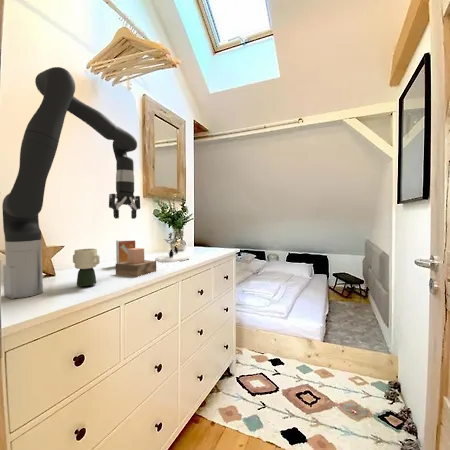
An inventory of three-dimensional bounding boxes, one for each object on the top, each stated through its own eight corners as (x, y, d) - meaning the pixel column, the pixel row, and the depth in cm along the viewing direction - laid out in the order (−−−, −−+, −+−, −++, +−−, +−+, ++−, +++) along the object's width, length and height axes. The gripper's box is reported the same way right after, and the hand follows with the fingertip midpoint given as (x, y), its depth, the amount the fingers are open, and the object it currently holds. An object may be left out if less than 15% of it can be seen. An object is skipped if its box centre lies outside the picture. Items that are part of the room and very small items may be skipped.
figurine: (170, 254, 164) (168, 229, 162) (195, 256, 156) (193, 229, 154) (148, 263, 146) (146, 234, 144) (175, 266, 138) (173, 235, 136)
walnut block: (137, 277, 107) (137, 265, 107) (115, 275, 112) (115, 263, 112) (156, 272, 118) (156, 261, 118) (135, 270, 123) (135, 259, 123)
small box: (119, 267, 127) (118, 241, 127) (116, 265, 132) (115, 240, 132) (136, 266, 131) (135, 240, 131) (132, 264, 137) (132, 239, 136)
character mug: (106, 284, 96) (105, 248, 95) (92, 289, 89) (91, 251, 88) (81, 282, 98) (80, 248, 98) (65, 287, 91) (64, 250, 91)
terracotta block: (134, 263, 112) (134, 249, 111) (127, 262, 114) (127, 249, 114) (144, 262, 116) (144, 248, 115) (137, 261, 118) (137, 247, 118)
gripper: (115, 178, 107) (115, 218, 107) (144, 182, 119) (144, 218, 119) (105, 180, 111) (105, 218, 111) (133, 184, 123) (133, 218, 123)
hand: (125, 218), depth 115 cm, fingers open, 8 cm apart
